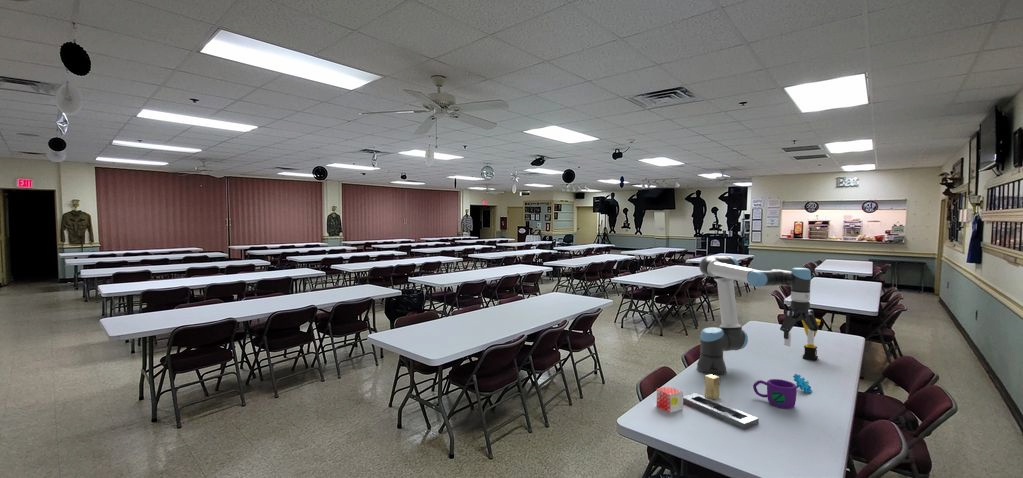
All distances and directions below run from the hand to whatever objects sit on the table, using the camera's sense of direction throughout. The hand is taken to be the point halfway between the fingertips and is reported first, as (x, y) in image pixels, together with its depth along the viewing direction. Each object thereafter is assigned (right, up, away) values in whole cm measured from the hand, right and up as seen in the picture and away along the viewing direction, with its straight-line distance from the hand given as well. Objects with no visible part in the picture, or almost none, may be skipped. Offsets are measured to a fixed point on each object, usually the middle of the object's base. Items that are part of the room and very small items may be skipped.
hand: (799, 344), depth 201 cm
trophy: (+47, -23, +58) cm, 78 cm away
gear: (+7, -25, +8) cm, 27 cm away
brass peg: (-41, -25, 0) cm, 48 cm away
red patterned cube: (-66, -26, -11) cm, 72 cm away
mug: (-16, -25, -6) cm, 31 cm away
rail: (-47, -26, -17) cm, 56 cm away
